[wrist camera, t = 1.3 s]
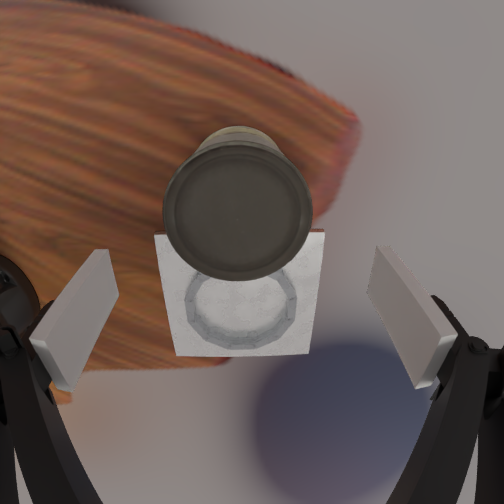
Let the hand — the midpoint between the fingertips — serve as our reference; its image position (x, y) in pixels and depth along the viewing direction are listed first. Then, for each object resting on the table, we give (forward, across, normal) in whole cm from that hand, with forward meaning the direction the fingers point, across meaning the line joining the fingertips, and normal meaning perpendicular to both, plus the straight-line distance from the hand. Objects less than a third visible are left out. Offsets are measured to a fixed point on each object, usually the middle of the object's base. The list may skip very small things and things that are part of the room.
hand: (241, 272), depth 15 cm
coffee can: (+21, 0, 0) cm, 21 cm away
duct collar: (+21, 0, -17) cm, 27 cm away
